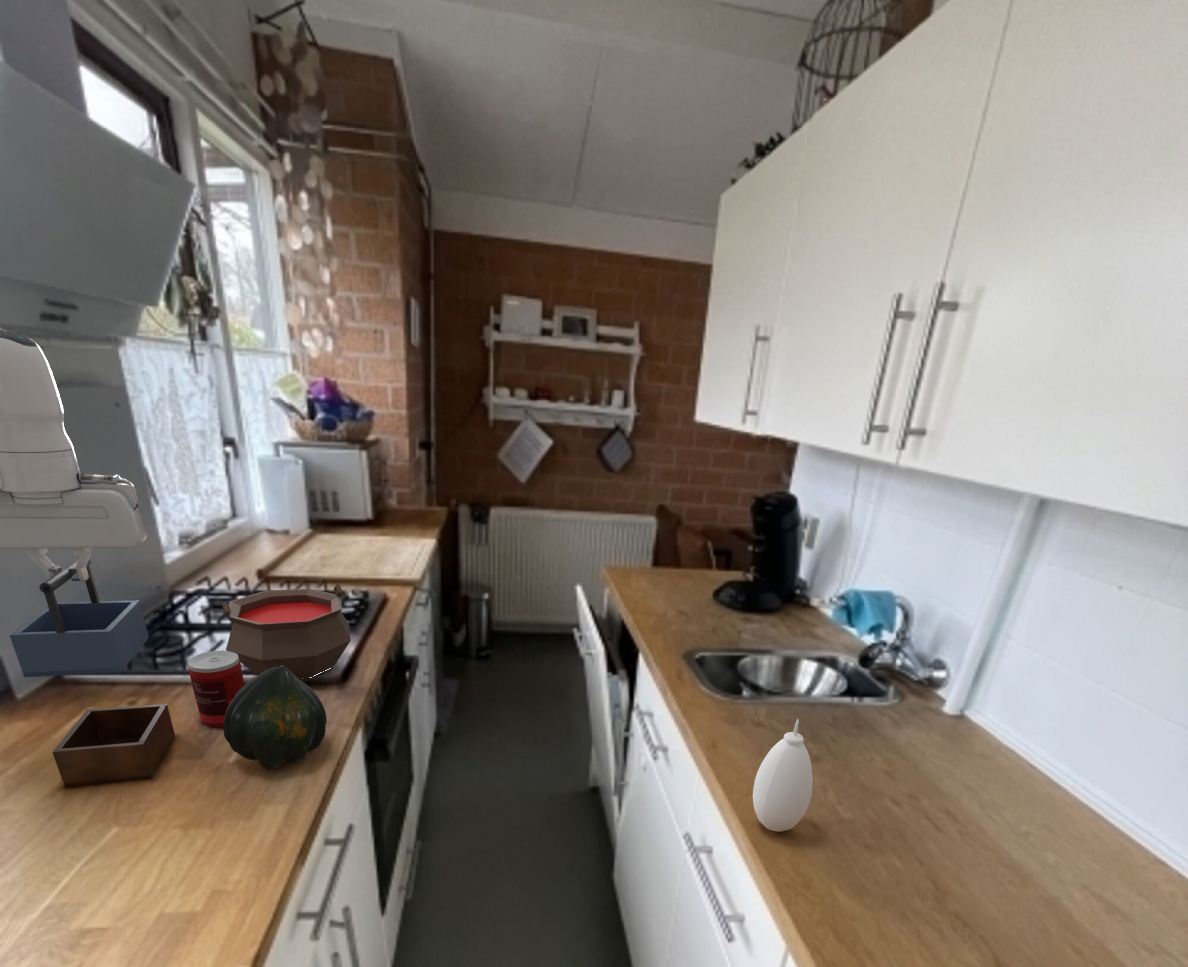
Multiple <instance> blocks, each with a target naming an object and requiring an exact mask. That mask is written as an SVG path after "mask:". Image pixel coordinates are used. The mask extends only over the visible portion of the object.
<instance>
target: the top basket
mask: <svg viewBox="0 0 1188 967" xmlns="http://www.w3.org/2000/svg"><path fill="white" fill-rule="evenodd" d="M78 559H79V558H76V560H74V561H72V562H71V563H70V564H68V565H67V566H65V567H64V568H63V569H62V570H61V571H59V572H58V573H56V574H55V575H54V576H52V577H51V578H49V579H48V580H47V579H46V580H45V581H43V582H41V583H40V584H39V590H40V592H41V593H43V594H44V598H45V601H46V604H47V605H46V607H44V608H43V609H42V610H41V611H39V612H38V613H36V614H35V615H34V616H33V617H31V618H30V619H29V620H27V621H26V622H24V623H23V624H22V625H21V626H20V627H18V628H16V629H15V630H14V631H12V632H11V633H10V634H9V638H10V641H11V644H12V646H13V647H12V648H13V649H14V652H15V656H16V658H17V662H18V664H19V666H20V669H21V672H22V675H23V677H24V678H40V677H59V676H81V675H96V674H115V673H116V674H118V673H122V672H123V671H124V670H125V668H126V667H127V666H128V664H129V663H130V662H131V661H132V659H134V657H135V656H136V654H137V653H138V652H139V651H140V649H141V648H142V647H143V646H144V645H145V643H146V642H147V641H148V639H149V638H150V637H149V633H148V629H147V625H146V621H145V616H144V612H143V609H142V608H143V607H142V604H141V601H140V600H138V599H137V600H104V601H102V600H100V597H99V594H98V591H97V587H96V584H95V580H94V577H93V574H92V570H91V566H90V565H91V563H92V561H91V558H90V559H89V561H88V564H87V565H86V567H87V571H88V575H89V578H88V579H87V580H86V581H84V583H85V585H86V589H87V592H88V596H89V600H90V601H62V602H59V601H57V597H56V595H55V591H56V590H57V589H58V588H61V586H63V585H65V584H66V583H67V582H68V581H70V580H71V575H70V574H69V570H68V569H69V568H71V567H72V566H73V565H77V562H78Z"/></svg>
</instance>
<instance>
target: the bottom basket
mask: <svg viewBox="0 0 1188 967" xmlns="http://www.w3.org/2000/svg"><path fill="white" fill-rule="evenodd" d="M175 737H176V733H175V729H174V726H173V720H172V718H171V714H170V710H169V706H168V703H160V704H147V705H146V704H145V705H131V706H118V707H117V706H116V707H104V708H103V707H102V708H89V709H86V710H85V711H84V712H83V714H82V715H80V717H79V718H78V720H77V721H76V722H75V723H74V724H73V726H72V727H71V729H70V730H68V732H67V733H66V734H65V735H64V737H63V738H62V739H61V740H60V742H58V744H57V745H56V746H55V747H54V749H53V750H52V751H51V753H52V756H53V759H54V761H55V764H56V767H57V770H58V773H59V776H60V778H61V782H62V783H63V786H64V788H65V789H67V788H75V787H84V786H85V787H86V786H87V787H88V786H96V785H106V784H108V785H109V784H118V783H126V782H127V783H128V782H136V781H137V782H138V781H148V780H153V779H154V777H155V775H157V774H156V773H157V772H158V770H159V768H160V766H161V764H162V762H163V760H164V759H165V757H166V755H167V753H168V751H169V749H170V747H171V745H172V743H173V742H174V740H175Z"/></svg>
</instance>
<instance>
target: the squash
mask: <svg viewBox="0 0 1188 967" xmlns="http://www.w3.org/2000/svg"><path fill="white" fill-rule="evenodd" d="M244 685H245V686H243V687H242V688H241V689H240V690H239V691H238V692H237V694H236V695H235V697H234V698H233V700H232V701H231V703H230V704H229V706H228V708H227V710H226V714H225V718H224V727H223V737H224V739H225V740H226V742H227V743H228V744H229V746H230V748H231V750H232V751H233V753H236V754H238V755H240V756H241V757H242V758H244V759H246V760H250V761H257V762H258V764H260V766H261V767H263V768H266V769H270V770H275V769H277V768H279V767H281V765H283V763H284V762H285V763H287V764H297V763H299V762H301V761H302V760H304V758H305V757H306V756H307V754H308V753H311V752H312V751H315V750H316V749H318V748H319V746H320V745H321V743H323V740H324V739H325V736H326V732H327V730H326V728H327V722H328V718H327V717H328V716H327V712H326V709H325V707H324V705H323V703H322V701H321V700H320V698H319V696H318V695H317V694H316V692H315V691H314V690H313V689H312V688H311V687H310V686H309V685H307V684H306V683H305V682H302V681H301V680H300V679H298V678H297V677H296V676H295V675H294V674H293V673H292V672H291V671H290V670H288V669H287V668H285V667H284V666H282V665H281V666H279V667H274V668H271V669H269V670H267V671H265V672H263V673H262V674H260V675H259V676H257V675H256V677H253V678H251V679H250V680H249V681H248V682H247V683H246V684H244Z"/></svg>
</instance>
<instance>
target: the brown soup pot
mask: <svg viewBox="0 0 1188 967" xmlns="http://www.w3.org/2000/svg"><path fill="white" fill-rule="evenodd" d="M333 591H334V593H331V592H326V591H322V590H317V589H313V588H295V589H294V588H293V589H273V590H272V589H271V590H264V591H260V592H257V593H254V594H250V595H247V596H243V597H240V598H237V599H234V600H231V601H229V603H228V602H227V601H223V602H222V604H221V610H222V613H223V615H224V617H226V618H227V619H228V620H229V621H230V622H232V624H231V625H232V626H231V630H230V632H229V637H228V640H227V644H226V647H225V651H230V652H234V653H236V654H237V655H238V657H239V660H240V664H241V665H244V667H246V668H247V669H248V670H249V671H250V672H251V673H253V674H254V675H255V676H256V677H257V676H259V675H260V674H262V673H263V672H265V671H267V670H269V669H271V668H274V667H279V666H281V665H282V666H284V667H285V668H287V669H288V670H290V671H291V672H292V673H293V674H294V675H295V676H296V677H297V678H298V679H300V680H301V681H302V682H304V683H305V682H306V683H307V682H311V681H314V680H316V679H318V678H320V677H322V676H324V675H326V674H328V673H331V672H332V671H333V669H334V667H335V666H336V664H338V661H339V660H340V658H341V657H342V656H343V654H344V652H345V651H346V649H347V648H348V646H349V644H350V643H351V641H352V638H351V630H350V624H349V622H348V621H347V619H346V617H345V616H344V614H343V612H342V610H343V605H342V604H343V603H342V594H343V589H342V587H341V584H339V583H336V584H335V585H334V587H333ZM333 666H334V667H333ZM332 667H333V668H332ZM329 668H331V669H329ZM327 669H329V670H327ZM325 670H327V671H325ZM323 671H324V672H323ZM320 672H322V673H320ZM318 673H320V674H318ZM316 674H318V675H316ZM314 675H316V676H314ZM313 676H314V677H313ZM309 677H312V678H309ZM302 678H303V679H302Z"/></svg>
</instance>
